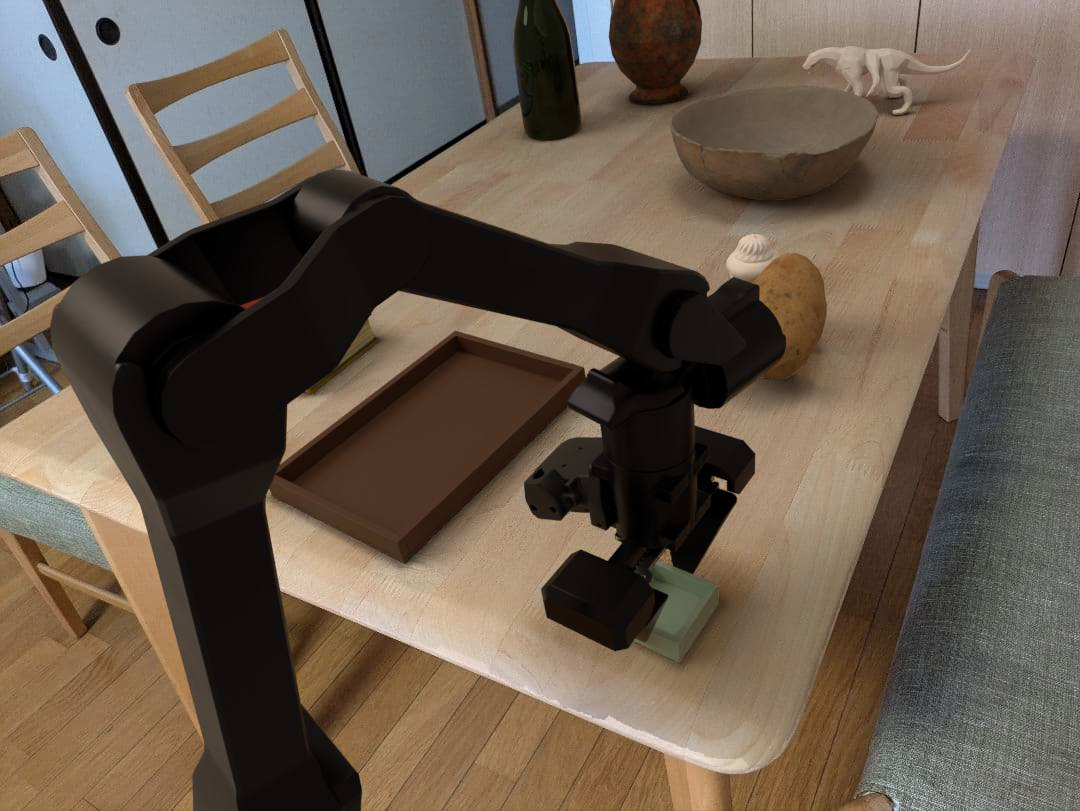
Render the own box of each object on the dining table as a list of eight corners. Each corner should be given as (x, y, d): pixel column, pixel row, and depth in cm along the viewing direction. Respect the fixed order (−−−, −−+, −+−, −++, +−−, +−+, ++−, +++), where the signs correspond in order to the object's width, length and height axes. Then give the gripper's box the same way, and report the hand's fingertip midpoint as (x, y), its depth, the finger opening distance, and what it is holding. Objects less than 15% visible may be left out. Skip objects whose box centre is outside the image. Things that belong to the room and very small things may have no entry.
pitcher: (624, 85, 167) (611, -87, 149) (733, 79, 160) (732, -101, 143) (603, 113, 155) (586, -70, 137) (720, 109, 148) (718, -85, 130)
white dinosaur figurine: (800, 99, 146) (802, 39, 140) (957, 89, 139) (967, 25, 133) (800, 123, 137) (802, 60, 131) (968, 114, 130) (979, 47, 124)
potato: (706, 394, 82) (703, 312, 77) (760, 315, 92) (761, 238, 87) (793, 413, 78) (797, 328, 73) (840, 328, 88) (847, 248, 83)
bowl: (652, 220, 116) (648, 149, 110) (694, 145, 136) (692, 82, 130) (865, 225, 106) (872, 148, 100) (876, 144, 126) (883, 75, 120)
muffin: (718, 283, 99) (718, 229, 95) (768, 273, 100) (770, 218, 95) (737, 308, 94) (737, 252, 90) (789, 297, 95) (792, 240, 90)
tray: (404, 563, 70) (397, 542, 68) (271, 496, 79) (263, 476, 78) (587, 387, 86) (584, 367, 85) (459, 348, 96) (455, 330, 94)
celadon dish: (679, 663, 58) (678, 644, 57) (606, 628, 61) (604, 609, 60) (718, 604, 62) (718, 584, 60) (648, 574, 65) (646, 554, 64)
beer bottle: (565, 142, 145) (538, -73, 126) (514, 140, 150) (480, -68, 131) (592, 121, 152) (570, -86, 133) (542, 119, 157) (514, -81, 138)
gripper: (618, 338, 62) (633, 494, 71) (454, 493, 51) (498, 653, 60) (760, 375, 56) (757, 539, 65) (610, 559, 45) (632, 726, 54)
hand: (662, 607), depth 61 cm, fingers closed on celadon dish, 6 cm apart
